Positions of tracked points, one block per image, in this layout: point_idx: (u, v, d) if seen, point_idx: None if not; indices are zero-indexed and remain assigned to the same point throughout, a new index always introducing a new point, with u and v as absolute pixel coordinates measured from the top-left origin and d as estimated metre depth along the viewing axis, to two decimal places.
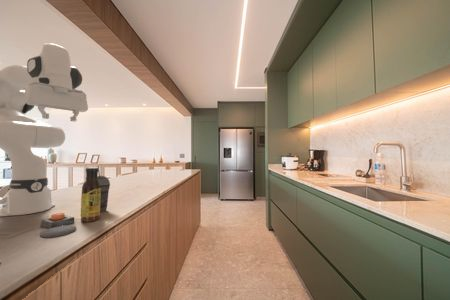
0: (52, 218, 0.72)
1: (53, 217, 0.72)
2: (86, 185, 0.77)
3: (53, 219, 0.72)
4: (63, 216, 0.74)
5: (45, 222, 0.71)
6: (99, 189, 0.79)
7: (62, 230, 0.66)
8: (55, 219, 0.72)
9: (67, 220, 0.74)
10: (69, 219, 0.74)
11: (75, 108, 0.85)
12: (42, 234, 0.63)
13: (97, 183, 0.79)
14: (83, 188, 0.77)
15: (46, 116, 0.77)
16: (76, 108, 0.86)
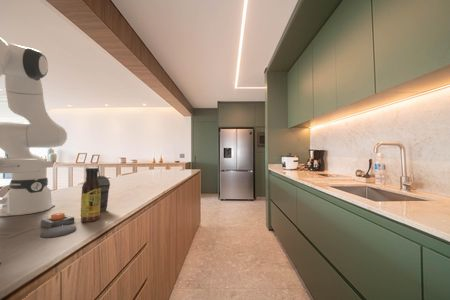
0: (52, 218, 0.72)
1: (53, 217, 0.72)
2: (86, 185, 0.77)
3: (53, 219, 0.72)
4: (63, 216, 0.74)
5: (45, 222, 0.71)
6: (99, 189, 0.79)
7: (62, 230, 0.66)
8: (55, 219, 0.72)
9: (67, 220, 0.74)
10: (69, 219, 0.74)
11: None
12: (42, 234, 0.63)
13: (97, 183, 0.79)
14: (83, 188, 0.77)
15: None
16: None
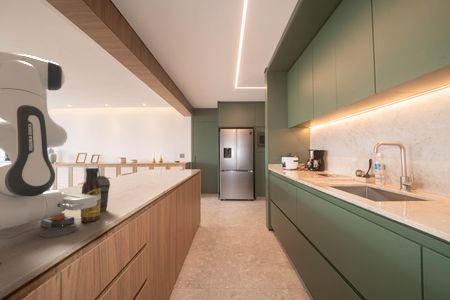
0: (52, 218, 0.72)
1: (53, 217, 0.72)
2: (86, 185, 0.77)
3: (53, 219, 0.72)
4: (63, 216, 0.74)
5: (45, 222, 0.71)
6: (99, 189, 0.79)
7: (62, 230, 0.66)
8: (55, 219, 0.72)
9: (67, 220, 0.74)
10: (69, 219, 0.74)
11: None
12: (42, 234, 0.63)
13: (97, 183, 0.79)
14: (83, 188, 0.77)
15: None
16: None
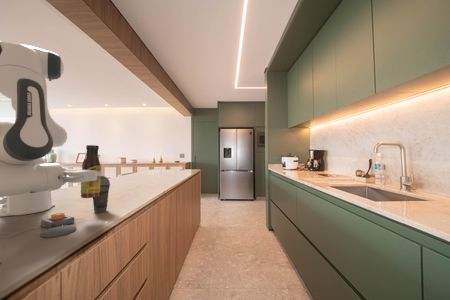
0: (52, 218, 0.72)
1: (53, 217, 0.72)
2: (86, 161, 0.77)
3: (53, 219, 0.72)
4: (63, 216, 0.74)
5: (45, 222, 0.71)
6: (99, 166, 0.79)
7: (62, 230, 0.66)
8: (55, 219, 0.72)
9: (67, 220, 0.74)
10: (69, 219, 0.74)
11: None
12: (42, 234, 0.63)
13: (97, 160, 0.79)
14: (83, 164, 0.77)
15: None
16: None
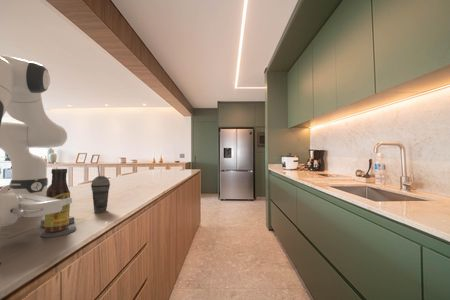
0: None
1: None
2: (51, 189, 0.65)
3: None
4: None
5: None
6: (67, 193, 0.67)
7: (62, 230, 0.66)
8: None
9: None
10: (69, 219, 0.74)
11: None
12: (42, 234, 0.63)
13: (65, 186, 0.67)
14: (47, 192, 0.65)
15: None
16: None
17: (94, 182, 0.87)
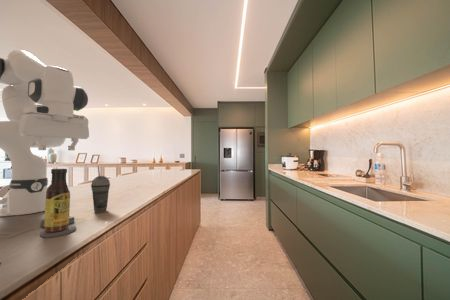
0: None
1: None
2: (51, 189, 0.65)
3: None
4: None
5: None
6: (67, 193, 0.67)
7: (62, 230, 0.66)
8: None
9: None
10: (69, 219, 0.74)
11: (75, 137, 0.78)
12: (42, 234, 0.63)
13: (65, 186, 0.67)
14: (47, 192, 0.65)
15: (43, 148, 0.70)
16: (76, 136, 0.78)
17: (94, 182, 0.87)
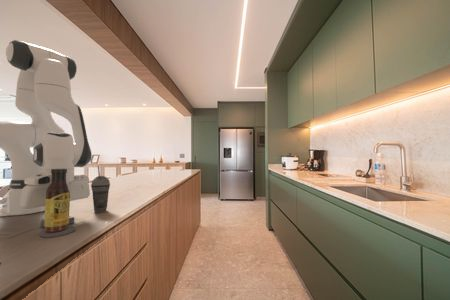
0: None
1: None
2: (51, 189, 0.65)
3: None
4: None
5: None
6: (67, 193, 0.67)
7: (62, 230, 0.66)
8: None
9: None
10: (69, 219, 0.74)
11: (76, 198, 0.78)
12: (42, 234, 0.63)
13: (65, 186, 0.67)
14: (47, 192, 0.65)
15: None
16: (77, 198, 0.78)
17: (94, 182, 0.87)
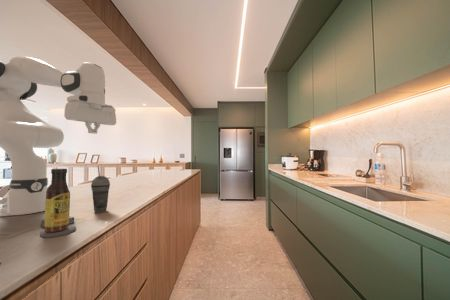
0: None
1: None
2: (51, 189, 0.65)
3: None
4: None
5: None
6: (67, 193, 0.67)
7: (62, 230, 0.66)
8: None
9: None
10: (69, 219, 0.74)
11: (106, 122, 0.92)
12: (42, 234, 0.63)
13: (65, 186, 0.67)
14: (47, 192, 0.65)
15: (92, 131, 0.87)
16: (107, 122, 0.93)
17: (94, 182, 0.87)
